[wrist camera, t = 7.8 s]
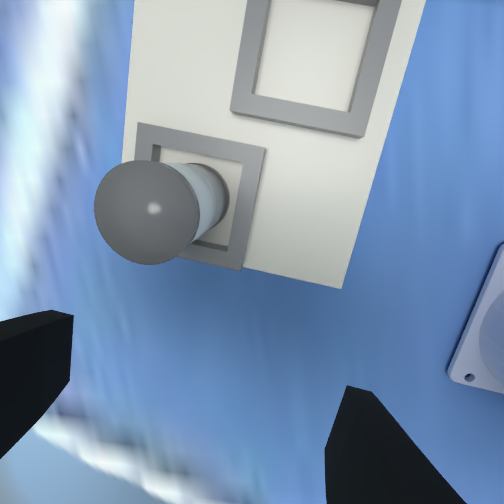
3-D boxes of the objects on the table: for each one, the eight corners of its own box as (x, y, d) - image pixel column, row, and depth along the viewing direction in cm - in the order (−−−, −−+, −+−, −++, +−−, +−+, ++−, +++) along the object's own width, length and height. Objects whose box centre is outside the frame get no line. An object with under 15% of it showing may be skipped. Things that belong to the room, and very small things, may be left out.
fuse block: (417, 3, 14) (440, -26, 12) (337, 281, 17) (344, 296, 15) (151, -41, 15) (128, -77, 12) (126, 233, 18) (104, 242, 16)
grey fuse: (235, 170, 15) (202, 172, 10) (223, 236, 16) (186, 274, 10) (169, 156, 16) (97, 150, 10) (161, 222, 16) (91, 252, 11)
